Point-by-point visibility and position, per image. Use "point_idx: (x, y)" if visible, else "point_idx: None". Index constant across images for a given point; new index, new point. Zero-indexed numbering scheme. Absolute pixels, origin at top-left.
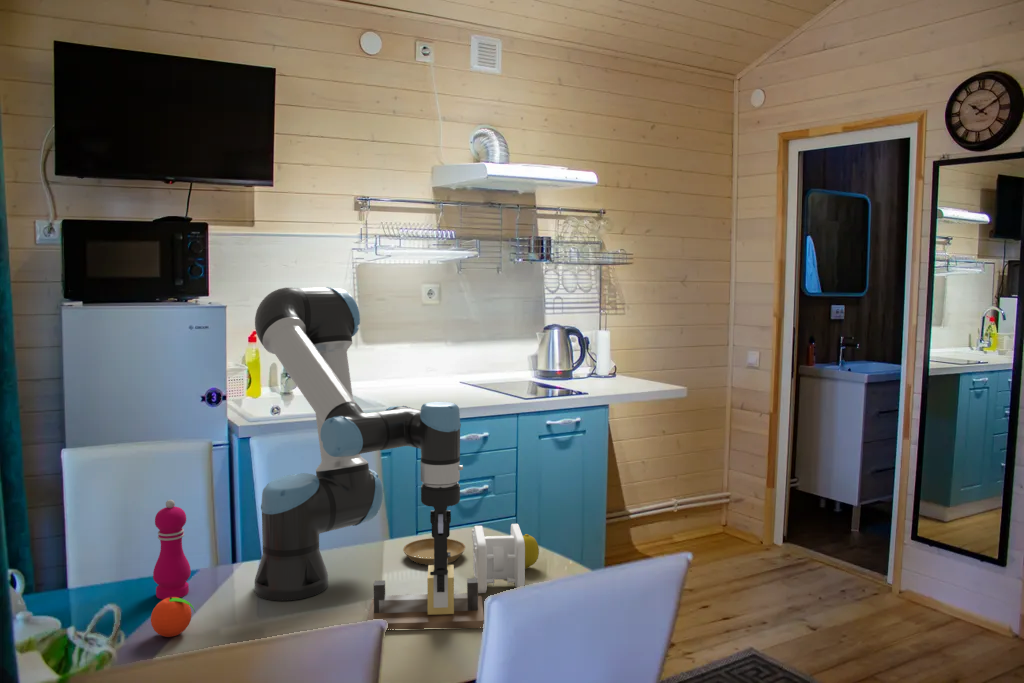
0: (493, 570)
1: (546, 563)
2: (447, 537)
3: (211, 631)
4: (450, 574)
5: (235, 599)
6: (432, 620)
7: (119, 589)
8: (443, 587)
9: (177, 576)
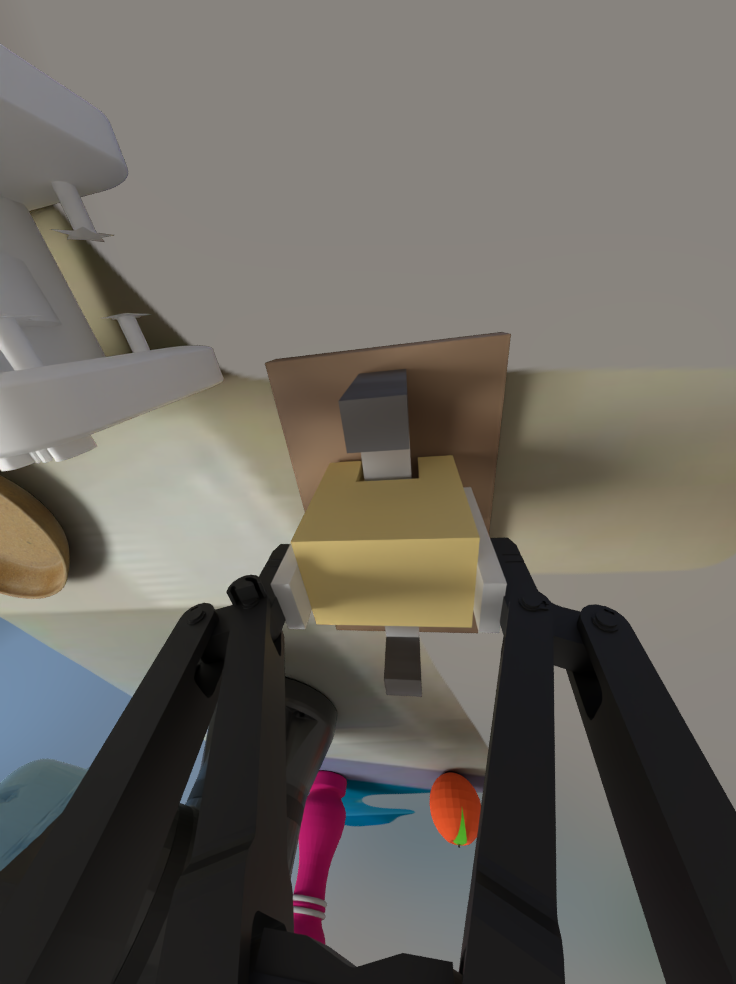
0: (59, 320)
1: None
2: (534, 907)
3: (444, 753)
4: (431, 552)
5: (335, 743)
6: (480, 510)
7: None
8: (520, 556)
9: (337, 816)
